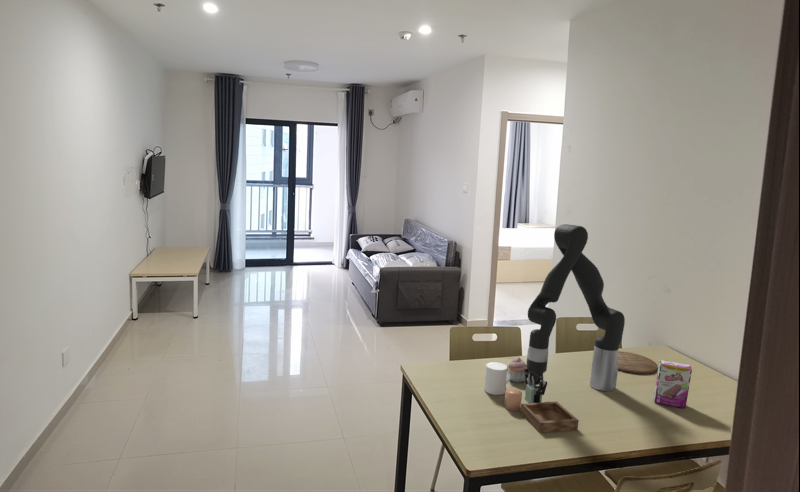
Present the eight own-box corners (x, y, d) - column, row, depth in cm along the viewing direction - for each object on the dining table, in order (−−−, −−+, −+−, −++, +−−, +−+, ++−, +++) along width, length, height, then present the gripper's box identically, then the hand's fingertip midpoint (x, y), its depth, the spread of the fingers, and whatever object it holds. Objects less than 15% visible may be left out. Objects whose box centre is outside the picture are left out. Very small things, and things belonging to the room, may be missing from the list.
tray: (555, 410, 201) (556, 401, 201) (577, 429, 188) (578, 420, 187) (520, 412, 198) (521, 403, 197) (539, 432, 184) (540, 423, 183)
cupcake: (523, 386, 221) (525, 363, 219) (501, 380, 226) (503, 357, 224) (530, 379, 229) (533, 356, 227) (509, 373, 234) (511, 351, 232)
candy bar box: (654, 403, 212) (660, 363, 209) (653, 398, 217) (658, 359, 214) (686, 409, 209) (692, 368, 206) (684, 404, 213) (690, 364, 210)
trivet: (667, 376, 241) (667, 372, 241) (610, 373, 241) (610, 369, 241) (642, 356, 266) (643, 352, 266) (591, 353, 266) (592, 349, 266)
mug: (481, 364, 215) (502, 358, 222) (479, 389, 216) (500, 382, 224) (497, 371, 208) (518, 365, 215) (495, 397, 210) (516, 390, 217)
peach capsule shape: (516, 402, 206) (517, 388, 205) (523, 410, 200) (524, 395, 199) (501, 403, 204) (502, 388, 203) (508, 411, 199) (509, 396, 198)
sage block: (535, 398, 210) (536, 384, 209) (541, 404, 206) (542, 389, 205) (524, 399, 209) (526, 384, 208) (530, 404, 205) (531, 389, 204)
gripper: (556, 364, 199) (551, 408, 202) (537, 350, 212) (532, 391, 215) (537, 365, 197) (533, 409, 200) (519, 351, 210) (515, 392, 213)
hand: (533, 400), depth 207 cm, fingers closed on sage block, 4 cm apart
